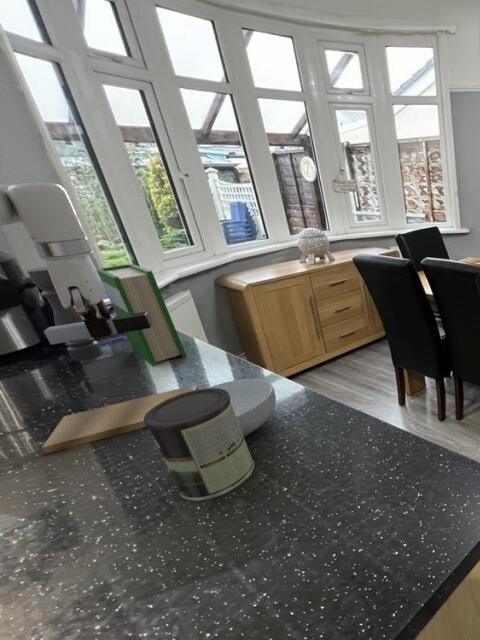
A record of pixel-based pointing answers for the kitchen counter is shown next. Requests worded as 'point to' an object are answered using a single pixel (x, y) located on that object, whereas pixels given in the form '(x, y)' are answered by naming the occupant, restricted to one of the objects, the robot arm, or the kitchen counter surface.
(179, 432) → the coffee can
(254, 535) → the kitchen counter surface
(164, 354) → the hardback book
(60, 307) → the candle holder
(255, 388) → the cereal bowl
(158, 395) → the cutting board
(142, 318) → the grey bar black end
